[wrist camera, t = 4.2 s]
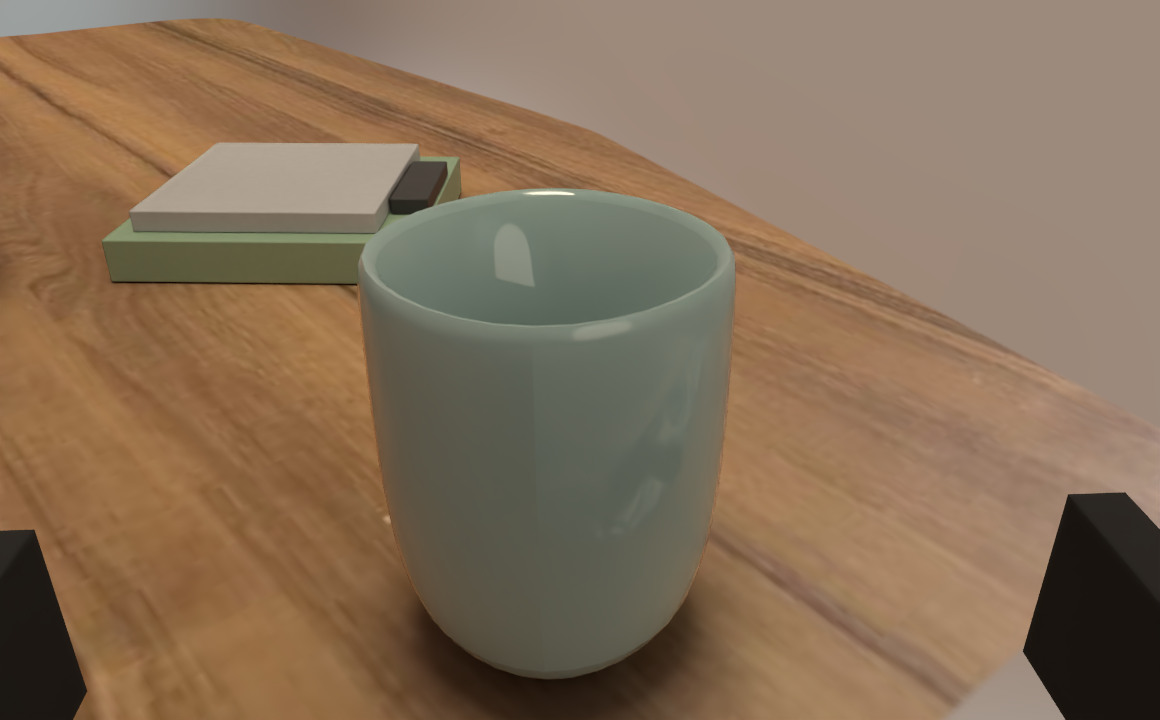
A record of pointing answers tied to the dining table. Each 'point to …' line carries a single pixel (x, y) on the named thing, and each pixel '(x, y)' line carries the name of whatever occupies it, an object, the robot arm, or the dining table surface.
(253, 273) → the scale
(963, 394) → the dining table surface
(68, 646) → the robot arm
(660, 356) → the cup
